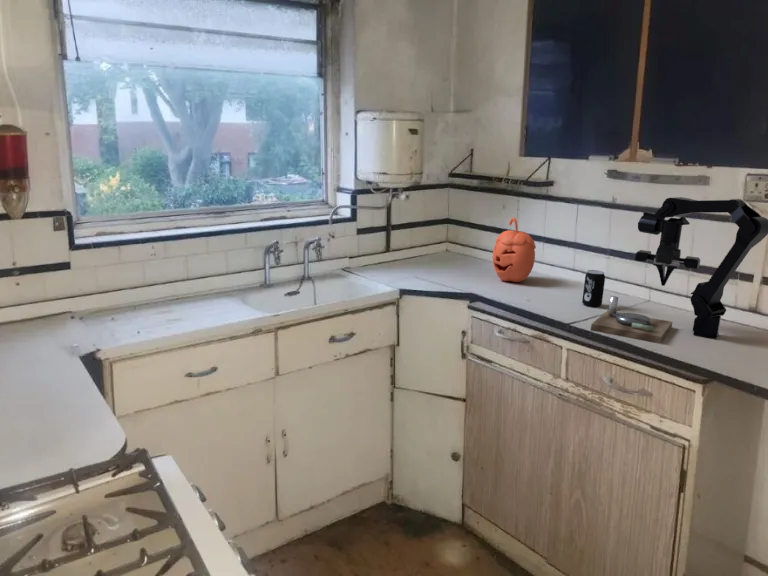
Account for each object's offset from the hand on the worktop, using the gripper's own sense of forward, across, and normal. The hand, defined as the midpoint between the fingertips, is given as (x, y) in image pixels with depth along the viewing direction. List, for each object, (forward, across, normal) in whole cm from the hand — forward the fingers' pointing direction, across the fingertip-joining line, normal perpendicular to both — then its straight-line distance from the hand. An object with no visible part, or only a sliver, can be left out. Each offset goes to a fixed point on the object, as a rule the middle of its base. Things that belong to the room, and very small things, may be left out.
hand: (663, 285), depth 217 cm
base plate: (+12, -5, -15) cm, 20 cm away
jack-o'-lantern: (+12, -59, +23) cm, 64 cm away
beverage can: (+12, -23, +6) cm, 27 cm away
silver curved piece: (+10, -7, -14) cm, 18 cm away
